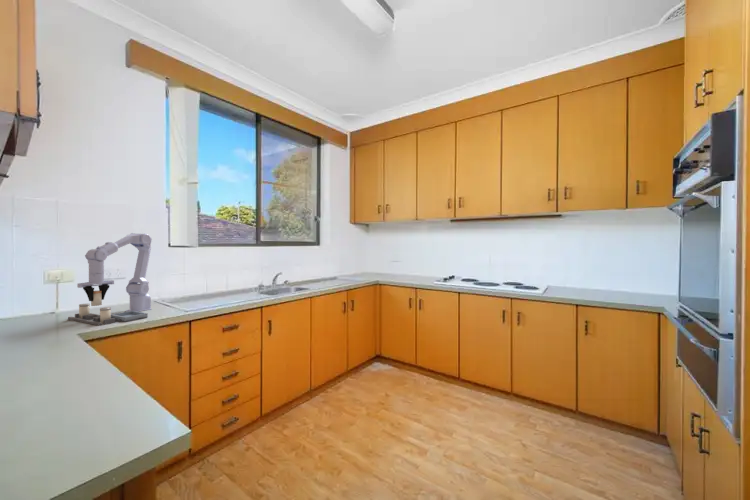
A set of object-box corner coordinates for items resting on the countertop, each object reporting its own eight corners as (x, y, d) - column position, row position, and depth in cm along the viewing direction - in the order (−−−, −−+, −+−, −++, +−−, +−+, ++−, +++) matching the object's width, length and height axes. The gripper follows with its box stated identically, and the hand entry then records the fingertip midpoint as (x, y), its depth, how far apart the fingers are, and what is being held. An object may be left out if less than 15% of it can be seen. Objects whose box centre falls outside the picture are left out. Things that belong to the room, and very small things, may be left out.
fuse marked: (98, 304, 165) (98, 290, 164) (103, 304, 163) (103, 291, 163) (89, 305, 161) (89, 291, 161) (93, 306, 159) (93, 292, 159)
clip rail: (91, 315, 171) (91, 311, 171) (121, 321, 161) (121, 317, 161) (68, 319, 162) (68, 315, 162) (98, 325, 152) (98, 321, 152)
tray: (132, 314, 174) (132, 310, 174) (147, 317, 169) (147, 313, 169) (109, 318, 164) (109, 314, 164) (125, 321, 159) (125, 317, 159)
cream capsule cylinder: (87, 316, 168) (86, 303, 167) (91, 317, 166) (91, 304, 166) (77, 318, 164) (77, 304, 164) (81, 319, 162) (81, 305, 162)
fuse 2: (107, 320, 161) (107, 306, 160) (112, 321, 159) (112, 307, 159) (97, 322, 157) (97, 308, 157) (102, 323, 155) (103, 309, 155)
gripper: (108, 271, 170) (108, 297, 170) (73, 274, 156) (73, 301, 157) (116, 272, 167) (116, 298, 167) (82, 274, 154) (82, 303, 154)
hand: (96, 300), depth 162 cm, fingers closed on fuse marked, 4 cm apart
